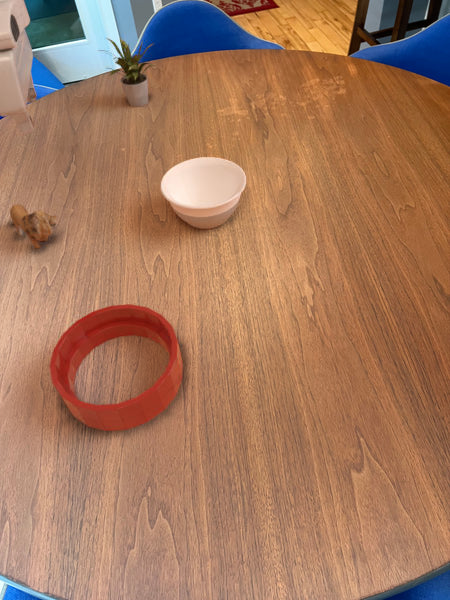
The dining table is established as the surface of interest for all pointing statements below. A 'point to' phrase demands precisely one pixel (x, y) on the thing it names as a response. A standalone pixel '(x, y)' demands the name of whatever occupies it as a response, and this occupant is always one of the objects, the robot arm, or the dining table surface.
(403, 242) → the dining table surface
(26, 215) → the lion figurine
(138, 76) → the house plant
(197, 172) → the bowl
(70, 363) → the red plastic ring
